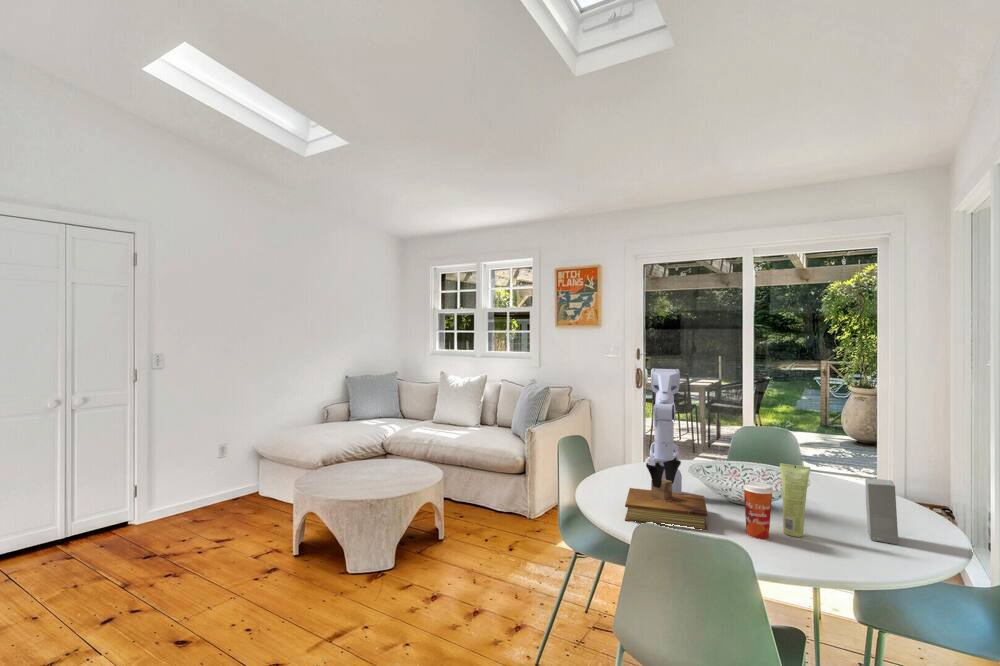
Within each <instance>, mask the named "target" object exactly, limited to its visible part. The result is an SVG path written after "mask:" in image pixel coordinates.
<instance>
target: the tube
mask: <svg viewBox="0 0 1000 666" xmlns="http://www.w3.org/2000/svg"><path fill="white" fill-rule="evenodd" d="M779 468H780V469H779V471H780V476H781V477H780V478H781V491H782V522H783V524H782V525H783V527H782V529H783V530H782V531H783V533H784V534H786V535H788V536H791V537H796V538H797V537H799V538H800V537H804V531H805V529H804V528H805V515H806V503H807V502H806V501H807V494H808V493H807V492H808V483H809V476H810V472H811V467H810V466H803V465H796V464H788V463H782V462H781V463H779Z"/></svg>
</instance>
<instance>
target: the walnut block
mask: <svg viewBox="0 0 1000 666" xmlns="http://www.w3.org/2000/svg"><path fill="white" fill-rule="evenodd" d="M650 481H651V483H650V484H651V487H650V490H651V496H652V497H655V498H659V499H663V500H665V499H668V498H671V497H672V481H669V480H665V479H662V482H661V487H660V488H657V487H653V483H652V479H651V480H650Z"/></svg>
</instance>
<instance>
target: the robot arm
mask: <svg viewBox="0 0 1000 666" xmlns="http://www.w3.org/2000/svg"><path fill="white" fill-rule="evenodd" d="M680 374H681V371H680V370H679V369H678V368H676V369H674V368H655V367H652V369H651V370H650V386H651V391H652V392H653V393H655V404H653V410H652V411H653V412H652V413H653V416H652V417H653V427H654V441H653V442H652V443H651V445H650V448H649V449H650V450H649V458H647V461H648V462H646V463H645V466H646V468H647V470H648V472H649V475H650V477H651V480H652V483H653V487H657V488H660V487H661V482H662V479H665V480H669V481H672V492H673V493H683V492H682V487H683V485H682V482H683V479H682V478H683V477H682V476H683V475H682V472H681V471H680V469H679V467H680V466H681V464H682V462H681V461H682V460H680V452H679V451H680V450H679V446H678V445H677V443H675V442H674V434H675V433H674V432H675V431H674V429H675V428H674V425H675V424H674V423H675V421H676V404H675V402H674V401H675V396H674V395H675V394H678V393H679V390H680V384H681V382H680V381H681V375H680Z"/></svg>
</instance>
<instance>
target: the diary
mask: <svg viewBox="0 0 1000 666" xmlns="http://www.w3.org/2000/svg"><path fill="white" fill-rule="evenodd" d="M624 507H625V508H627V511H626V515H625V518H624V521H625V522H630V521H634V522H633V523H638V522H639V524H641V523H640V522H653V523H656V524H660V525H659V526H662V525H665V524H671V525H672V524H674V525H680V526H687V527H694V528H695V529H702V530H701V531H703V530H707V531H708V526H707V520H706V518H707V517H708V514H709V513H708V510H707V509H708V508H707V505H706V500H705V496H704V495H700V494H699V495H698V494H692V493H684V492H682V493H673V492H672V497H671V498H668V499H665V500H663V499H659V498H655V497H652V496H651V489H643V488H633V487H629V489H628V493H627V497H626V500H625V503H624ZM635 521H636V522H635ZM661 523H665V524H661ZM674 525H673V526H674ZM664 527H668V526H667V525H665V526H664ZM695 529H694V530H695Z"/></svg>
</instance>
